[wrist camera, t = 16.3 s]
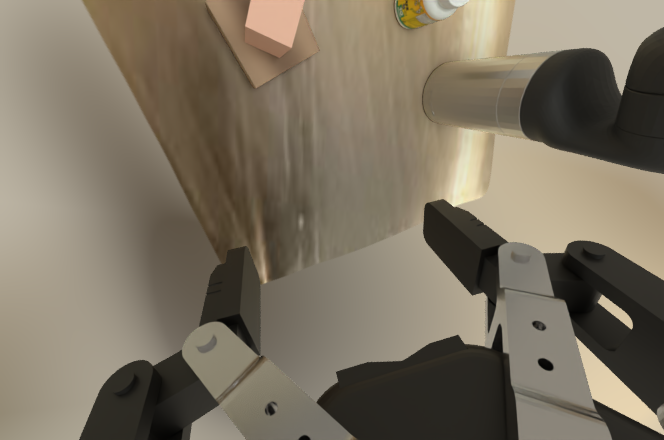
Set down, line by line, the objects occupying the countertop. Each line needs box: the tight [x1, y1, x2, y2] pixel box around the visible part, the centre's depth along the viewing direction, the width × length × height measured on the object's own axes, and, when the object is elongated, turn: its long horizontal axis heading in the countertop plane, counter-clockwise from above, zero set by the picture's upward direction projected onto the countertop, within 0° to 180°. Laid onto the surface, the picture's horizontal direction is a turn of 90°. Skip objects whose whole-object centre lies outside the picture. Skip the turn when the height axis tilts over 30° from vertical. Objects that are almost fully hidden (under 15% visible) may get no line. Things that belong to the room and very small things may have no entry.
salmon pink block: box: [245, 0, 305, 58], centre depth 27 cm, size 4×4×9 cm
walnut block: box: [205, 0, 320, 88], centre depth 32 cm, size 9×9×4 cm
